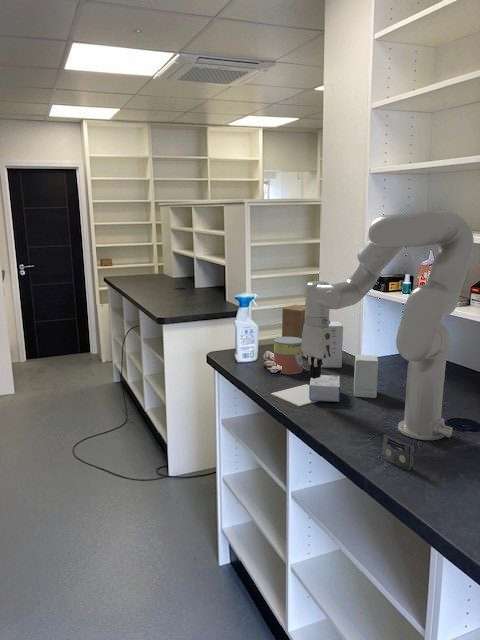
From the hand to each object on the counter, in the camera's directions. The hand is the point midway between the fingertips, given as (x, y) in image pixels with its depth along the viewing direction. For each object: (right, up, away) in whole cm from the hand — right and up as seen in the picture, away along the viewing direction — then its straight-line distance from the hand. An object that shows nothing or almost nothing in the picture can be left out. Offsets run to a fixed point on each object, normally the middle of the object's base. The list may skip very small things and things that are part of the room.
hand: (315, 377), depth 165 cm
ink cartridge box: (+3, -5, 0) cm, 6 cm away
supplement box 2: (+18, -7, +9) cm, 21 cm away
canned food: (-5, -1, +36) cm, 37 cm away
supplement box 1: (+12, 0, +43) cm, 45 cm away
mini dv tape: (+14, -17, -39) cm, 45 cm away
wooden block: (+1, +4, +61) cm, 61 cm away
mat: (-3, -7, +8) cm, 11 cm away
